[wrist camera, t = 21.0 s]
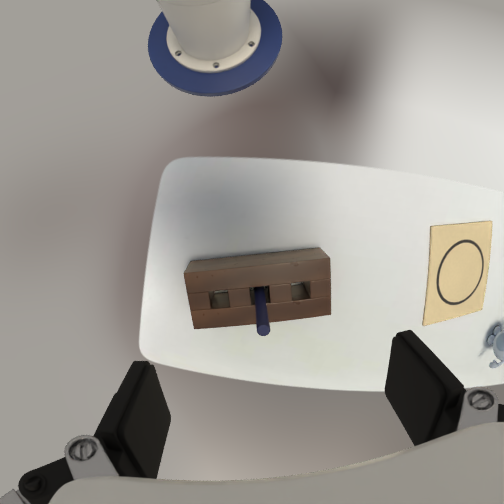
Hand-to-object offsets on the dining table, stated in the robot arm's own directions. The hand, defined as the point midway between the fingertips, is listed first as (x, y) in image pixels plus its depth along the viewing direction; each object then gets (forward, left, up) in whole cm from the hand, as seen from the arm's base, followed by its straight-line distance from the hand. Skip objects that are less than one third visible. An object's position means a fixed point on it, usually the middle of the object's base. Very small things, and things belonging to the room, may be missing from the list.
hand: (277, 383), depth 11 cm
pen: (+6, 0, -28) cm, 29 cm away
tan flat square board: (+9, +33, -28) cm, 44 cm away
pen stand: (+6, 0, -28) cm, 29 cm away
